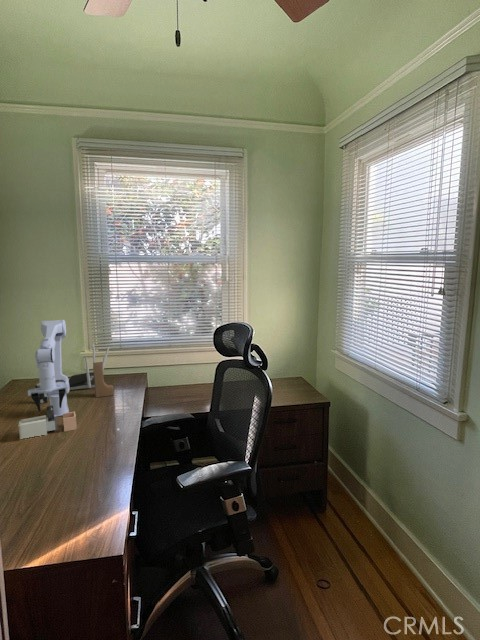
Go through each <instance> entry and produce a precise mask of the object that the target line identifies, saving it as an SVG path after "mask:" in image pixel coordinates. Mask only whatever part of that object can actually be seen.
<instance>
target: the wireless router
mask: <svg viewBox="0 0 480 640" xmlns="http://www.w3.org/2000/svg"><path fill="white" fill-rule="evenodd" d="M109 350H110V346H108V347H107V349H106V352H105V355H104V356H103V358H102V361H101V362H102V363H103V371H104V370H105V367H106V362H107V360H108V359H107V358H108V355H109ZM84 359H85V360H84V361H85V370H86V372H85V373H80V374H79V373H78V374H73V375H70V378H68V379H69V391H71V390H72V391H73V390H81V389H82V390H84V389H93V388H94V389H95V383H94V369H92V370H93V371H91V372H90V368H89V360H88V359H89V358H88V357H87V356H85V358H84ZM96 362H97V361H96V348H95V343H93V344H92V364H93V363H96Z"/></svg>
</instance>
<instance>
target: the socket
mask: <svg viewBox="0 0 480 640" xmlns="http://www.w3.org/2000/svg"><path fill="white" fill-rule="evenodd" d="M62 419H63V432H69V431H75V430H77V429H78V428H77V427H78V425H77V415H76V411H71V412H70V411H69V413H64V414H63V415H62Z"/></svg>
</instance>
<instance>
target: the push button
mask: <svg viewBox="0 0 480 640" xmlns="http://www.w3.org/2000/svg"><path fill="white" fill-rule="evenodd" d="M39 387H40V382H38V383H36V384H35V385H34V388H39ZM48 401H49V398H48V396H46V395H45V393H40V394H39V402H40V404H45V403H48Z"/></svg>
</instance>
